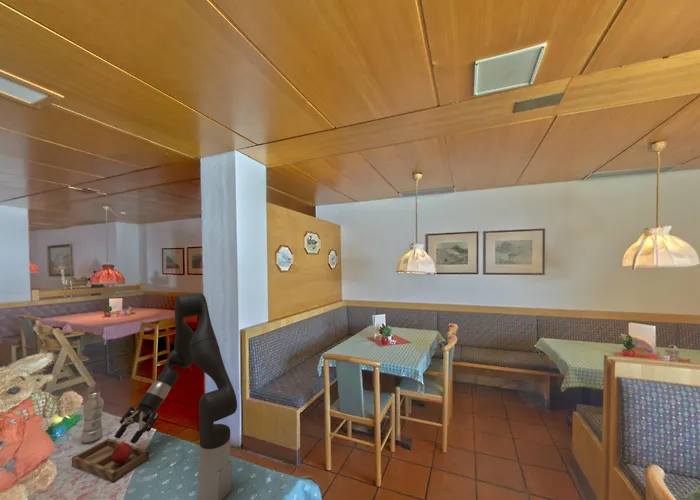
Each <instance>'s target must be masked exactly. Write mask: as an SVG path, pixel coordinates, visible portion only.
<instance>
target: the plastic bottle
mask: <svg viewBox="0 0 700 500" xmlns="http://www.w3.org/2000/svg"><path fill="white" fill-rule="evenodd" d="M87 394H88V395H87V398H88V399H87V400H86V401H85V403H84V404H83V407H82V409H83V410H82V411H83V420H84V421H83V427H82V428H83V429H82V432H81V436H80V439H81V442H82V443H85V444H88V443H89V444H90V443H92V442H95V441H97V440H99V439H100V438H101V437H102V434H103V431H104V430H103V425H102V415H103V410H104V405H105V401H104V399H103V398H102V397H101V390H99V389H97V390H91V391H89V392H88V393H87Z"/></svg>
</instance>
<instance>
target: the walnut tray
mask: <svg viewBox="0 0 700 500" xmlns="http://www.w3.org/2000/svg"><path fill="white" fill-rule="evenodd" d="M120 442H121V441H118V440H116V439H112V438H107V439H105V440H103V441H101V442H99V443H97V444H95V445H93V446H92V447H89V448H87V449H85V451H82V452H80V453H78V454H76V455H75V456H73V457H71V467H73V468H76V469H77V470H81V471H83V472H85V473H88V474H90V475H93V476H96V477H98V478H100V479H104V480H106V481H107V482H110V483H116V482H117V481H119V480H120V479H122V478H123V477H124V476H126V475H128V474H129V473H130V472H132V471H133V470H135V469H137V468H138V467H139V466H141V465H142V464H144V463H146V462H147V461H149V459H150V458H149V457H150V456H149V455H150V451H149V450H146V449H143V448H139V447H136V446H134V445H131V444H129V445H130V446H131V447H132V452H131V455H130V456H129V458H128V459H127V460H126V461H125V462H124V463H123V464H118V463H114V462H113V461H112V458H111V457H112V453H113V451H114V449H115V448H116V447H117V446H118V445H119V444H120Z"/></svg>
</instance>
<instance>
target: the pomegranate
mask: <svg viewBox="0 0 700 500" xmlns="http://www.w3.org/2000/svg"><path fill="white" fill-rule="evenodd" d="M119 442H120V444H119V445H118V446H117V447H116V448H115V449H114V451H113V453H112V457H111V458H112V461H113V462H114V463H118V464H123V463H124V462H125V461H126V460H127V459H128V458H129V456H130V455H131V452H132V447H131V446H132V445H131V444H129V443H127V442H125V440H121V441H119ZM130 445H131V446H130Z"/></svg>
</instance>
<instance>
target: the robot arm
mask: <svg viewBox="0 0 700 500" xmlns="http://www.w3.org/2000/svg"><path fill="white" fill-rule="evenodd" d="M196 316H198V318H199V322H198V324H197V328H196V329H195V330H194V331H195V332H194V331H193V329H192V328H191V327H190V326H189V325H188V324H187V323H186V321H185V319H184V318H190V317H196ZM174 327H175V328H174V329H175V336H174V337H175V338H174V343H173V344H174V345H173V346H174V347H173V350H171V351H170V352H169V355H168V356H167V358H166V362H165V365H164V366H163V369H162V371H161V372H160V374H159V375H158V377H156V379H155V381H154V382H153V383H152V384H151V385H150V387H149V388H148V389H147V391H146V392H145V394H144V395H143V396H142V398H141V399H140V400H139V402H138V406H137V408H136V407H134V406H130V407H129V409H127V411H126V412H125V413H124V415H123V416H122V418H121V419H120V420H119V423H120V424H121V426H120V427H119V429H118V430H117V431H116V433H115V434H114V438H116V439H121V438H122V436H123V435H124V434H125V432H126V431H127V429H128V428H129V427H130V426H131V425H133V424H135V423H137V424H138V430H136V432H135V434H134V435H133V436H132V438H131V439H130V443H132V444H134V445H135V444H137V442H138V441H139V440H140V438H141V437H142V435H143V434H144V433H145V432H150V431H151V430H152V428H153V427H154V425H155V423H156V421H157V420H158V419H159V417H160V414H159V413H157V412H156V411H158V410H159V408H160V406H161V405H162V404H163V402H164V401H165V399H166V397H167V396H168V395H169V392H170V390H171V389H172V387H173V386H174V384H175V383H176V382H177V379H178V378H179V375H180V374H179V373H178V372H177V371H176V370H174V369H173V366H177V367H179V368H182V369H187V368H190V367H191V366H192V365H193V364H194V365H195V366H196V367H197V368H198V369H199V370H200V371H202V372H203V373H205V374H206V375H208V376H209V377H210V378H211V379H212V380H213V381H214V382H213V383H215V385H216V387H217V389H216V390H213V391H208V392H206V393H203V394H202V395H201V396H200V399H199V402H198V413H199V414H198V416H199V417H198V419H199V420H198V421H199V425H198V429H199V430H198V432H199V433H198V435H199V446H198V447H199V449H198V454H199V455H198V473H197V474H198V475H197V476H198V477H197V478H198V479H197V480H198V481H197V500H224V498H225V497H226V496H227V495H228V494H229V493H230V492H231V491H232V477H233V475H232V474H233V473H232V470H233V462H232V460H230V457H231V456H230V455H231V454H230V453H231V452H230V451H231V428H230V426H228V425H227V424H223V423H216V422H217V421H220V420H222V419H225V418H228V417H230V416H232V415H234V414H235V413H236V411H237V409H238V399H237V395H236V393H235V392H236V391H235V388H234V387H233V383H232V382H231V379H230V377H229V375H228V372H227V369H226V367H225V365H224V359H223V357H222V353H221V351H220V346H219V343H218V340H217V337H216V334H215V331H214V329H213V327H214V326H213V325H212V321H211V318H210V312H209V306H208V303H207V299H206V297H205V294H203V293H201V292H197V293H188V294H182V295H181V294H179V295H178V296H177V297H176V298H175V300H174Z"/></svg>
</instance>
